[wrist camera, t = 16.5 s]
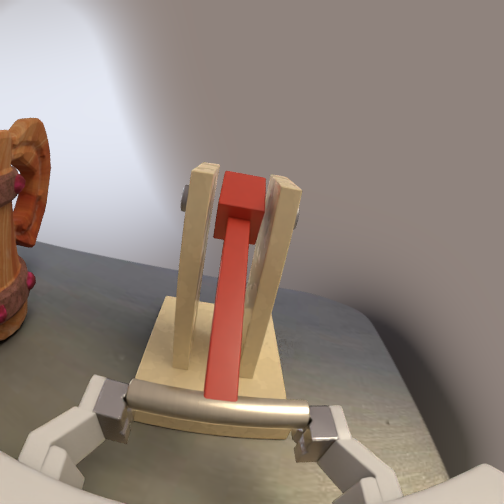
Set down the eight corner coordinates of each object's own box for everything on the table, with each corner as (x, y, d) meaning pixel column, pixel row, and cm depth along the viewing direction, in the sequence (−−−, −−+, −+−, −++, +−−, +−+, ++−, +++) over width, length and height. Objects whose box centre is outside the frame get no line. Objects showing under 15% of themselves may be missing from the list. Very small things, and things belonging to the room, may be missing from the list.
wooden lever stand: (286, 439, 14) (378, 223, 10) (127, 419, 13) (114, 176, 9) (268, 323, 25) (305, 176, 21) (165, 307, 24) (181, 153, 20)
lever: (294, 432, 9) (318, 423, 8) (133, 412, 9) (119, 400, 7) (288, 216, 17) (300, 184, 16) (188, 198, 17) (190, 164, 15)
